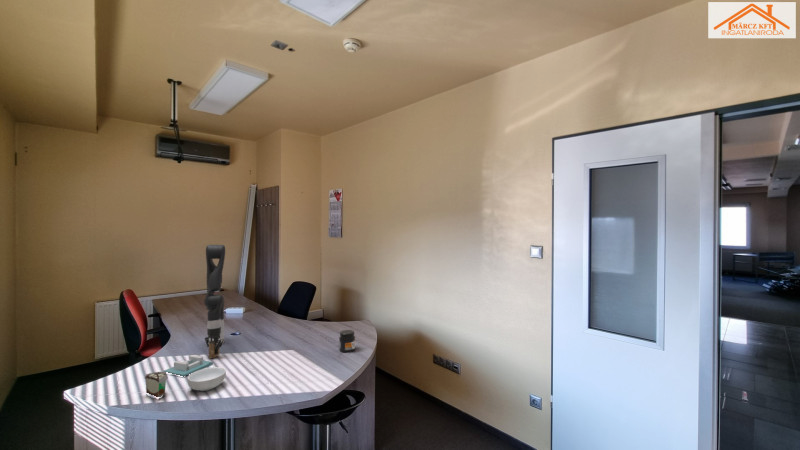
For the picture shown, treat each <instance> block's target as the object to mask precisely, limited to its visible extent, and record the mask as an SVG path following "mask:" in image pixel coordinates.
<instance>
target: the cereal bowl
mask: <svg viewBox="0 0 800 450" xmlns="http://www.w3.org/2000/svg"><path fill="white" fill-rule="evenodd" d="M226 372H227V370H226V369H225V368H224V367H219V366H217V367H214V366H213V367H206V368H204V369H201V370H198V371H196V372H194V373H192V374H190V375H189V376H187V384H188V386H189V387H190V389H192V390H194V391H199V390H200V391H199V392H206V391H210V390H213V389H214V388H216V387H218V386H220V385H221V384H222V383H223V381H225V379H226Z"/></svg>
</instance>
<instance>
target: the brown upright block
mask: <svg viewBox="0 0 800 450" xmlns="http://www.w3.org/2000/svg"><path fill="white" fill-rule="evenodd" d="M215 344H216V343H215ZM216 347H217V345H216ZM214 349H215V348H214V342H213V341H209V347H208V359H214V358H216V357H219V356H220V348H219V349H218V354H217V355H215V354H214Z"/></svg>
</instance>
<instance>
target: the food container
mask: <svg viewBox="0 0 800 450" xmlns="http://www.w3.org/2000/svg"><path fill="white" fill-rule="evenodd" d="M144 379H145V391H146V393H149V394H151V395H154V396H156V397H161V396H162V395H164V394H165V395H166V387H167V386H166V385H167V380H168V379H169V375H167V374H166V372H163V371H156V372H151V373H147V374H145V375H144ZM146 393H145V394H146ZM165 395H164V396H165Z"/></svg>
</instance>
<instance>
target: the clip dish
mask: <svg viewBox="0 0 800 450" xmlns="http://www.w3.org/2000/svg"><path fill="white" fill-rule="evenodd" d="M213 364H214V362H213V361H209V360H204V357H203V356H201V355H195V354H191V355H188V359H187V360H185V361H181V360H175V361H174V362H173V367H169V368H167V369H165V370H163V371H162V372H168V373H172V374H176V375H180V376H183V377H184V376H186V375H189V374H191V373H194V372H196V371H198V370H201V369H205V368H209V367H210V366H213ZM183 377H182V378H183ZM186 377H187V376H186ZM184 378H185V377H184Z"/></svg>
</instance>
